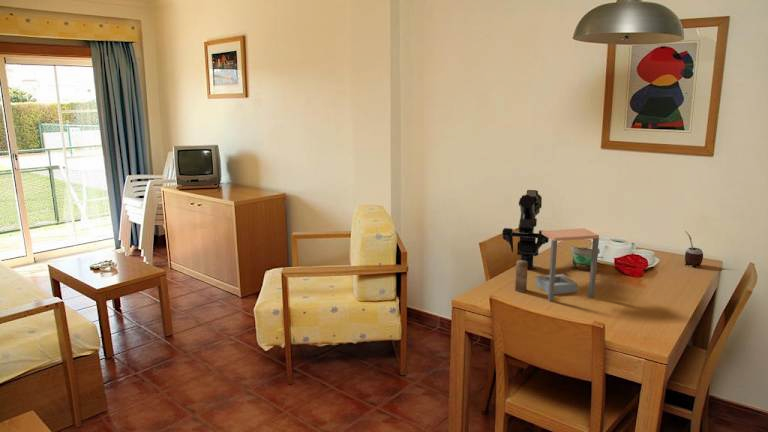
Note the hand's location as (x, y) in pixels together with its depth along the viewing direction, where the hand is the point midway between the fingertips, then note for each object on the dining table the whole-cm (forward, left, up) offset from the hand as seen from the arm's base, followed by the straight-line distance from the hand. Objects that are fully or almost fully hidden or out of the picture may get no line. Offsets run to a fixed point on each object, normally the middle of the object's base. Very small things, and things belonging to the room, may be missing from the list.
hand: (523, 253), depth 218 cm
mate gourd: (-15, +84, -14) cm, 86 cm away
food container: (-15, +33, -14) cm, 39 cm away
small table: (+10, +12, -13) cm, 21 cm away
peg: (+7, -3, -13) cm, 16 cm away
